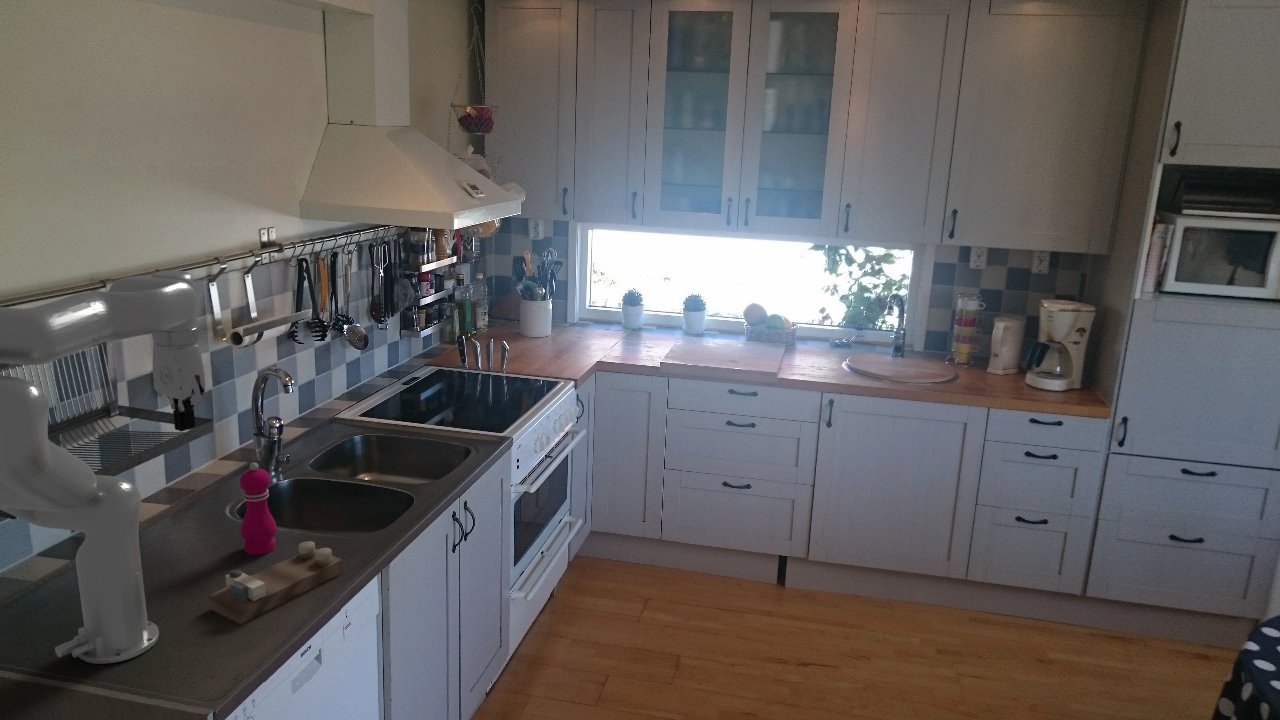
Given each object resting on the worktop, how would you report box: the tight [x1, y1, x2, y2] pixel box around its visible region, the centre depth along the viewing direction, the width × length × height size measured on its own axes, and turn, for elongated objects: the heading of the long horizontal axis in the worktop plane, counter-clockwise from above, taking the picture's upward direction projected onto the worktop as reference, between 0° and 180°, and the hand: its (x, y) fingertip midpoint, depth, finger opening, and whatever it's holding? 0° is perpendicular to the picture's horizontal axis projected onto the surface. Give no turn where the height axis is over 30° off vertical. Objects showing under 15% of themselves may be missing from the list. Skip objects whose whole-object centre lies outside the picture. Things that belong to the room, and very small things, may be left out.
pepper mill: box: [239, 462, 278, 556], centre depth 192 cm, size 7×7×20 cm
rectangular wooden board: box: [208, 540, 344, 625], centre depth 177 cm, size 24×9×6 cm, turn 149°
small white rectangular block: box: [225, 568, 266, 601], centre depth 170 cm, size 8×3×3 cm, turn 58°
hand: (185, 428), depth 173 cm, fingers closed
